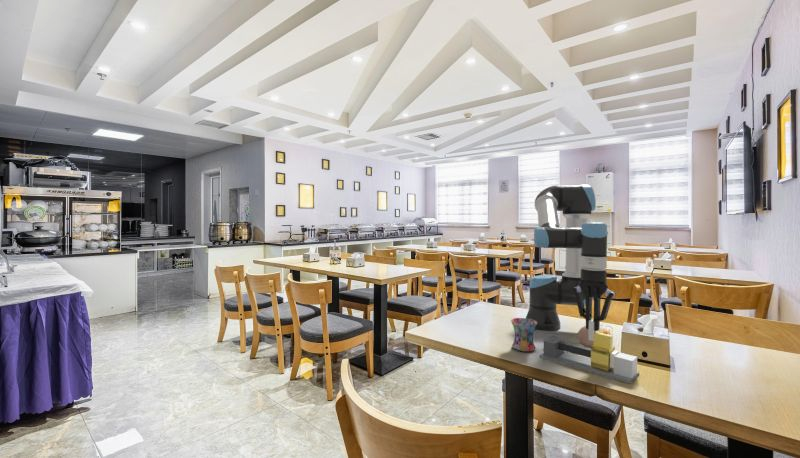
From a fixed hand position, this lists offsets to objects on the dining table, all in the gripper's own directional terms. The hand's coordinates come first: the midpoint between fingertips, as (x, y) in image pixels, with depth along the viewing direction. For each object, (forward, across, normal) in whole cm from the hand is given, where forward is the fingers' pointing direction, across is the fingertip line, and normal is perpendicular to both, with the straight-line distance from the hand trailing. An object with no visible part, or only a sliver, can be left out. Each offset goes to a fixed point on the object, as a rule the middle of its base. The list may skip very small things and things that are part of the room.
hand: (592, 339), depth 119 cm
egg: (+10, -8, +18) cm, 22 cm away
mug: (+10, -24, 0) cm, 26 cm away
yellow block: (+8, +3, 0) cm, 8 cm away
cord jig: (+9, -2, 0) cm, 9 cm away
